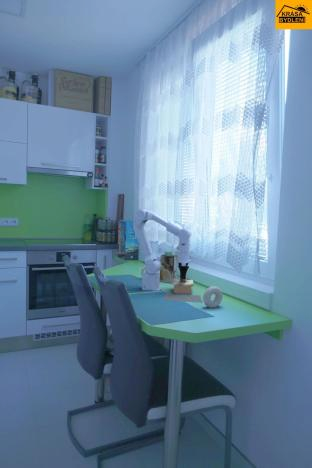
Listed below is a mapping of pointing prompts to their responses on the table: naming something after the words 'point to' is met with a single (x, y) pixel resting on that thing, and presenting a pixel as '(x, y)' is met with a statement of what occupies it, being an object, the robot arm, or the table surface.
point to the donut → (216, 300)
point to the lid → (182, 282)
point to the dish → (182, 289)
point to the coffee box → (168, 268)
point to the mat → (182, 298)
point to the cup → (143, 271)
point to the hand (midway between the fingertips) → (182, 277)
